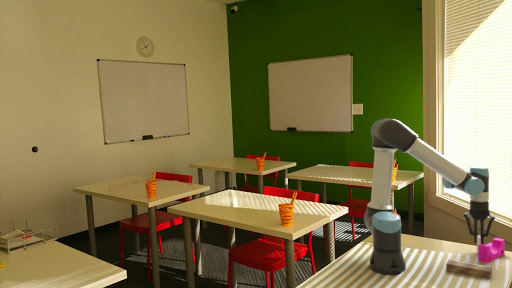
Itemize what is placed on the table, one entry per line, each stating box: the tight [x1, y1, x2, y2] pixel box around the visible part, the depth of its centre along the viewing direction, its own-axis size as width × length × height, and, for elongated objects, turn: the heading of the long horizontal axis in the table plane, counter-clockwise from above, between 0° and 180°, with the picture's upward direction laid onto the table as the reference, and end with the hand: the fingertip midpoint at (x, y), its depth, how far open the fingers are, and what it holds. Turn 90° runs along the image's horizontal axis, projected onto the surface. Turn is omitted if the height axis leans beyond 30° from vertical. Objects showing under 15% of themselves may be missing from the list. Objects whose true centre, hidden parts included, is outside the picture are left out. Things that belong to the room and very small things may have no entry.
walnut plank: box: [445, 259, 493, 280], centre depth 165 cm, size 16×5×3 cm, turn 52°
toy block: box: [478, 237, 506, 264], centre depth 180 cm, size 15×6×8 cm, turn 123°
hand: (479, 250), depth 186 cm, fingers closed
